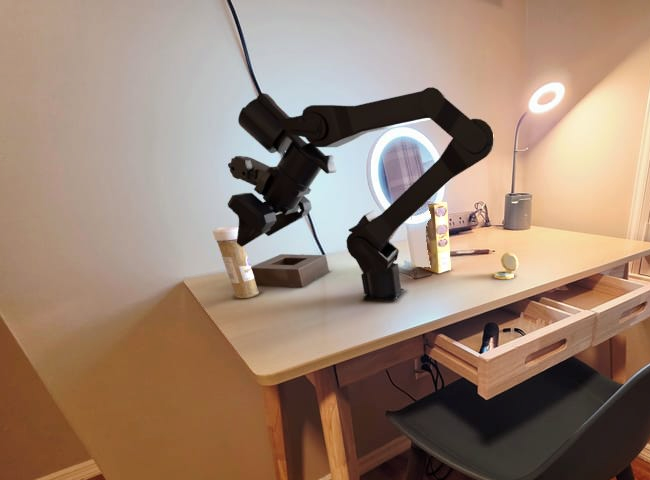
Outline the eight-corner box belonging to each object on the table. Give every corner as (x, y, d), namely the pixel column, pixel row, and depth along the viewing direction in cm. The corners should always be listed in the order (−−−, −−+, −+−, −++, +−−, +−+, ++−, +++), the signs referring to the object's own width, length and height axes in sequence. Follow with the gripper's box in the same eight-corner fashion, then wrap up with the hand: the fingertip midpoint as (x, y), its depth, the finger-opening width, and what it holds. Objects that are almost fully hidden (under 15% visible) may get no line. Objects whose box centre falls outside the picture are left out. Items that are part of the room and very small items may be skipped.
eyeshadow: (490, 276, 85) (490, 255, 82) (503, 271, 88) (503, 250, 86) (506, 280, 82) (507, 258, 80) (518, 275, 86) (519, 253, 83)
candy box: (451, 270, 90) (448, 202, 82) (438, 274, 88) (434, 204, 80) (428, 263, 96) (423, 199, 88) (415, 267, 93) (409, 201, 85)
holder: (329, 271, 91) (325, 255, 89) (302, 287, 81) (298, 269, 79) (285, 270, 93) (281, 254, 91) (253, 285, 83) (248, 267, 81)
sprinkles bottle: (261, 296, 77) (240, 228, 70) (236, 300, 75) (212, 231, 68) (257, 290, 80) (237, 225, 74) (234, 294, 78) (211, 227, 72)
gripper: (281, 138, 71) (244, 201, 77) (218, 136, 55) (178, 216, 61) (329, 183, 74) (290, 240, 81) (283, 193, 58) (239, 263, 64)
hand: (253, 239), depth 72 cm, fingers open, 9 cm apart
